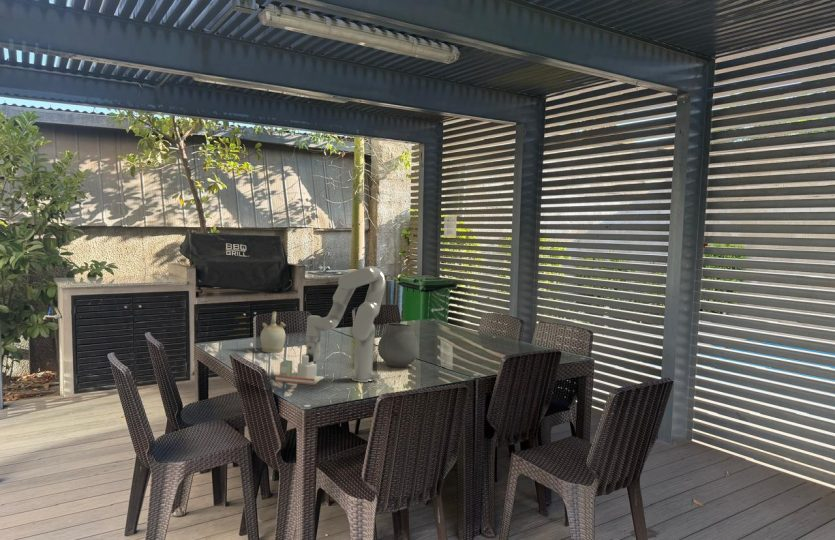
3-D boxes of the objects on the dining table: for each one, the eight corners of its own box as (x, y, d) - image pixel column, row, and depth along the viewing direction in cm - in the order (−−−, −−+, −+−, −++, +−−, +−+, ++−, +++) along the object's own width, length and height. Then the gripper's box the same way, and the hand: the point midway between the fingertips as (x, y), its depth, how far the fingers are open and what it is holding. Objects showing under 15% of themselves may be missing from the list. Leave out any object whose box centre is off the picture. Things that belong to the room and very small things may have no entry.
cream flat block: (324, 377, 303) (324, 371, 303) (313, 385, 286) (313, 379, 286) (288, 373, 306) (289, 368, 306) (275, 381, 289) (275, 375, 289)
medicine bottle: (307, 375, 304) (308, 352, 304) (316, 377, 300) (317, 355, 299) (296, 377, 299) (297, 354, 298) (306, 380, 294) (307, 357, 294)
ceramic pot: (425, 365, 342) (428, 324, 341) (404, 373, 322) (406, 329, 320) (391, 359, 355) (393, 319, 353) (368, 366, 334) (371, 323, 332)
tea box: (291, 378, 297) (292, 360, 296) (286, 380, 291) (287, 363, 290) (284, 377, 298) (285, 360, 297) (279, 380, 292) (280, 362, 291)
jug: (288, 349, 367) (289, 310, 365) (280, 354, 351) (281, 313, 350) (265, 347, 368) (266, 309, 366) (255, 352, 353) (257, 312, 351)
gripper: (315, 341, 298) (313, 376, 299) (324, 337, 312) (323, 370, 313) (301, 340, 299) (299, 375, 300) (311, 335, 314) (310, 368, 315)
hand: (311, 372), depth 307 cm, fingers closed
